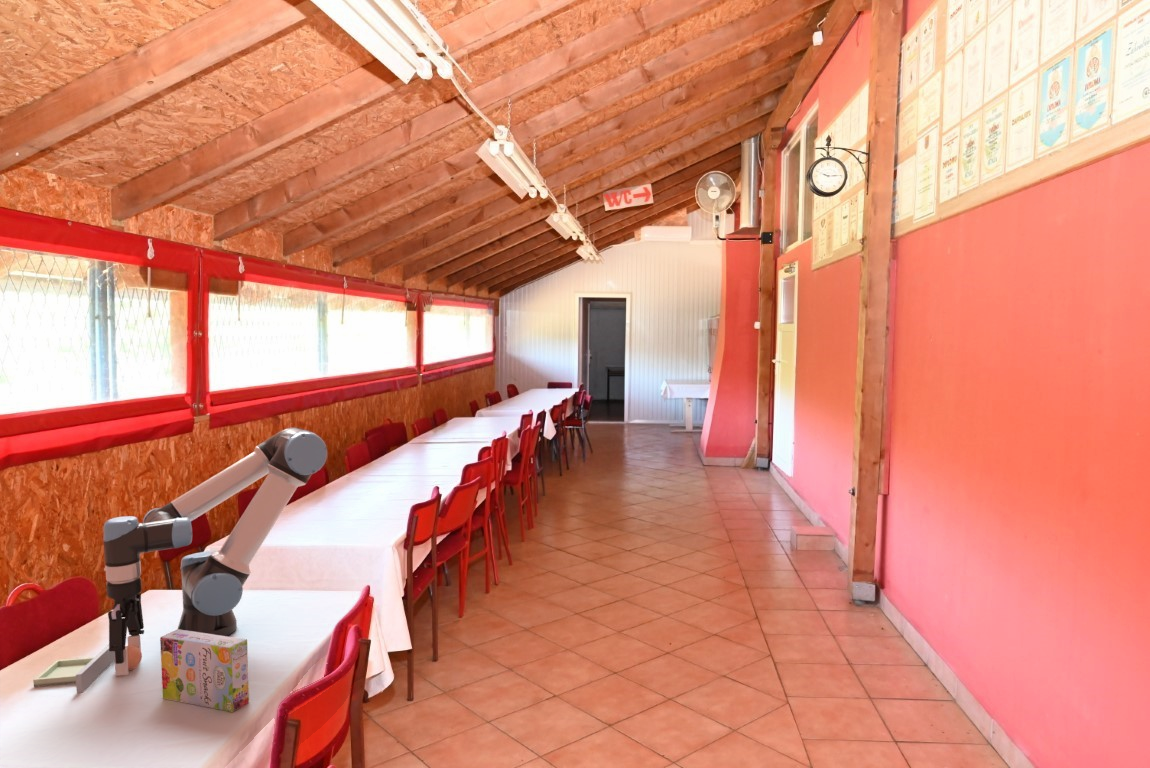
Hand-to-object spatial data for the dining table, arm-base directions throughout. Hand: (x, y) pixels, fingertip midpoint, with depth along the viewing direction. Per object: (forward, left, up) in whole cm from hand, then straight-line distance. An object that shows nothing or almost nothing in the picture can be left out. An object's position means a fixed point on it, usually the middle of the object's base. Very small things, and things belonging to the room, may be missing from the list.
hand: (128, 667), depth 187 cm
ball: (0, 0, +2) cm, 2 cm away
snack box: (-24, +21, -1) cm, 32 cm away
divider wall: (+6, 0, -1) cm, 7 cm away
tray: (+14, 0, -1) cm, 14 cm away
